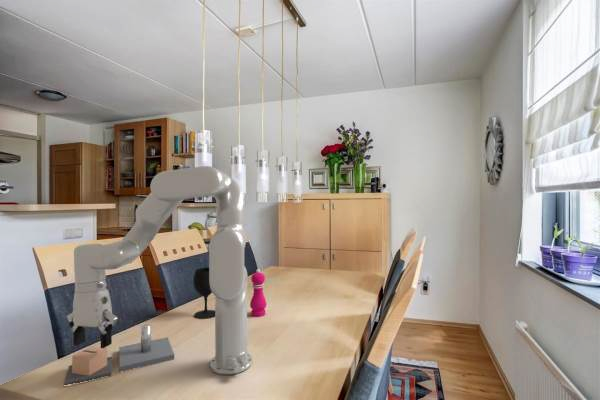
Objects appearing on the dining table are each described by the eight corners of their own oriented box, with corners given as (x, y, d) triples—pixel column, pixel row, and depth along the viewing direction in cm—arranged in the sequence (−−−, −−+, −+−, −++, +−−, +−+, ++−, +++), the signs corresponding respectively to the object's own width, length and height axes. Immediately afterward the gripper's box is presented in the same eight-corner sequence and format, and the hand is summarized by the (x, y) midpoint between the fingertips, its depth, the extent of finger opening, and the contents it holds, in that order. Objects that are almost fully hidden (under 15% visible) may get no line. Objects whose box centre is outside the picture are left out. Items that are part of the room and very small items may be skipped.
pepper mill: (263, 317, 135) (263, 271, 135) (247, 316, 136) (247, 270, 136) (268, 312, 142) (268, 267, 142) (253, 311, 143) (253, 267, 143)
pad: (111, 375, 90) (111, 372, 90) (63, 387, 84) (63, 383, 84) (111, 359, 99) (111, 356, 99) (69, 369, 94) (69, 365, 94)
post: (151, 351, 101) (151, 326, 101) (141, 353, 100) (141, 328, 100) (150, 347, 104) (150, 323, 104) (140, 349, 102) (140, 325, 102)
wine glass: (209, 309, 146) (208, 266, 147) (222, 314, 140) (222, 269, 140) (188, 315, 138) (188, 270, 139) (202, 320, 132) (202, 273, 132)
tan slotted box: (107, 365, 94) (107, 347, 94) (89, 375, 88) (89, 357, 88) (90, 362, 95) (90, 345, 95) (72, 373, 90) (72, 355, 90)
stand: (174, 359, 99) (174, 354, 99) (119, 372, 92) (119, 367, 92) (167, 341, 112) (167, 337, 112) (119, 351, 104) (119, 347, 105)
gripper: (125, 283, 93) (127, 341, 93) (79, 282, 98) (81, 337, 98) (103, 290, 86) (105, 353, 86) (55, 289, 91) (57, 348, 90)
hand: (92, 344), depth 92 cm, fingers open, 9 cm apart
